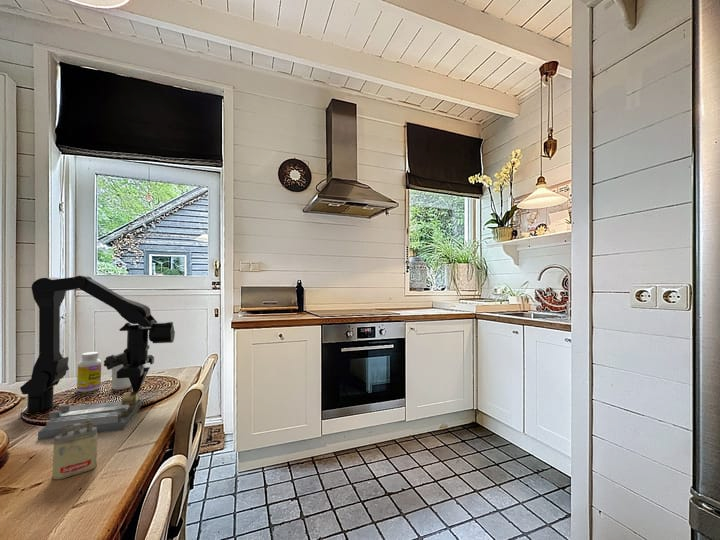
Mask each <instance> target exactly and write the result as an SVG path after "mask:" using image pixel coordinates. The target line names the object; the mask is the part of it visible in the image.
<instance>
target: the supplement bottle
mask: <svg viewBox="0 0 720 540" xmlns="http://www.w3.org/2000/svg"><path fill="white" fill-rule="evenodd" d="M98 357H99V352H98V351H87V352H83V353H81V358H82V359H81V360H80V361H79V362H78V363H77V375H76V377H77V378H76V379H77V380H76V390H77V392H81V393H87V391H88V392H93V391H96V390H98V389H100V388H101V386H102V385H101V384H102V382H101V381H102V379H101V378H102V360H101V359H99V358H98Z"/></svg>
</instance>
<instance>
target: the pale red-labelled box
mask: <svg viewBox="0 0 720 540" xmlns="http://www.w3.org/2000/svg"><path fill="white" fill-rule="evenodd" d="M83 423H84V424H83ZM85 423H86V424H85ZM70 426H71V427H70ZM92 426H93V422H92V419H89V420H87V421H85V422H81V423H77V424H72V425H65V426H62V430H63V431H62V432H63V433H62V434H59V435H57V436H56V437H55V438H53V439H54V440H53V441H54V443H53V455H52V456H53V457H52V458H53V459H52V461H53V463H52V476H51V478H52V479H53V480H63V479H65V478H69V477H72V476H76V475H79V474H83V473H85V472H89V471H91V470H93V469H95V468H96V467H97V464H98V463H97V458H98V457H97V455H98V433H97V428H96V427H92ZM84 427H87V428H84ZM81 428H83V429H81ZM71 430H73V431H71ZM68 431H70V432H68Z"/></svg>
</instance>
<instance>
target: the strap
mask: <svg viewBox="0 0 720 540" xmlns="http://www.w3.org/2000/svg"><path fill="white" fill-rule="evenodd" d="M128 408H129V404H127V405H119V406H111V407H103V408H94V409H86V410H78V411H70V412H61V418H62V417H71V416H81V415H91V414H101V413H111V412H121V411H126V410H127V409H128Z"/></svg>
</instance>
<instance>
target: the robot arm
mask: <svg viewBox="0 0 720 540" xmlns="http://www.w3.org/2000/svg"><path fill="white" fill-rule="evenodd" d="M78 289H79V290H81V291H83V292H85V293H86V294H88V295H89V296H91V297H93V298H95V299H96V300H99V301H100V302H101V303H104V304H105V305H107V306H109V307H110V308H113V310H115V311H116V312H117V313H118V314H119V315H120V317H122V318H123V319H124V320H125V321H126V323H125V324H124V325H123V326H122V327H120V328H119V331H120V332H126V333H127V335H126V336H127V337H126V347H125V348H124V349H123V352H121V353H118V354H110V355H108V356H107V357H105V360H103V366H104V367H106V369H107V370H108V371H109V370H112V368H113V367H116V366H119V365H121V364H123V367H122V368H121V369H119V370H118V371H117V378H118V379H119V378H129V380H130V383H131V386H130V387H131V388H132V392H138V391H139V392H140V390H141V388H142V385H143V383H144V381H145V379H146V377H147V375H148V372H149V371H150V368H151V367H150V366H149V367H148V366H147V367H146V366H145V365H146V364H150V365H153V364H154V363H155V356H153V355H152V354H148V353H149V349H150V344H149V341H150V342H152V344H171V343H174V340H175V335H176V334H175V333H176V331H175V327H174V322H173V321H167V322H158V321H157V320H156V318H155V317H154V316H153V315H152V312H151V308H150V307H149V306H148V305H146V304H143V303H141V302H138V301H134V300H131V299H129V298H125V297H124V296H122V295H120V294H119V293H116V292H115V291H114V290H112V289H110V288H108V287H106V286H104V285H103V284H101V283H99V282H97V281H96V280H95V279H93V278H92V277H91V276H89V275H76V276H71V277H64V278H59V277H41V278H38V279H36V280H35V281H33V283H32V284H31V292H32V293H31V294H32V297H33V300H34V301H35V303H36V305H37V307H38V357H37V359H36V361H35V363H34V365H33V369H32V373H31V376H30V377H31V378H30V379H29V380H27V381H26V382H25V383H24V384H23V385H22V386H20V391H21V394H22V395H27V399H26V400H27V401H26V403H27V404H26V409H25V410H23V411H22V412H21V413H20V415H21V416H23V415H22V414H24V415H27V414H26V413H34V414H38V413H37V412H45V413H48V412H47V411H49V412H51V411H52V410H53V409H55V408H56V407H57V406H58V405H59V403H56V402H55V403H54V388H55V387H54V386H57V385H58V384H59V382H60V380H62V378H64V377H65V376H66V374H67V371H69V370H70V368H69V365H68V364H69V356H66V357H63V356H62V353H61V349H60V348H61V346H60V345H61V344H60V343H61V340H60V339H61V337H60V335H61V330H60V329H61V320H60V319H61V305H62V303H63V301H64V299H65V298H66V297H65V296H66V293H67V292H69V291H74V290H78ZM127 365H129V366H127ZM55 406H56V407H55ZM54 407H55V408H54ZM51 409H52V410H51Z"/></svg>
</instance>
